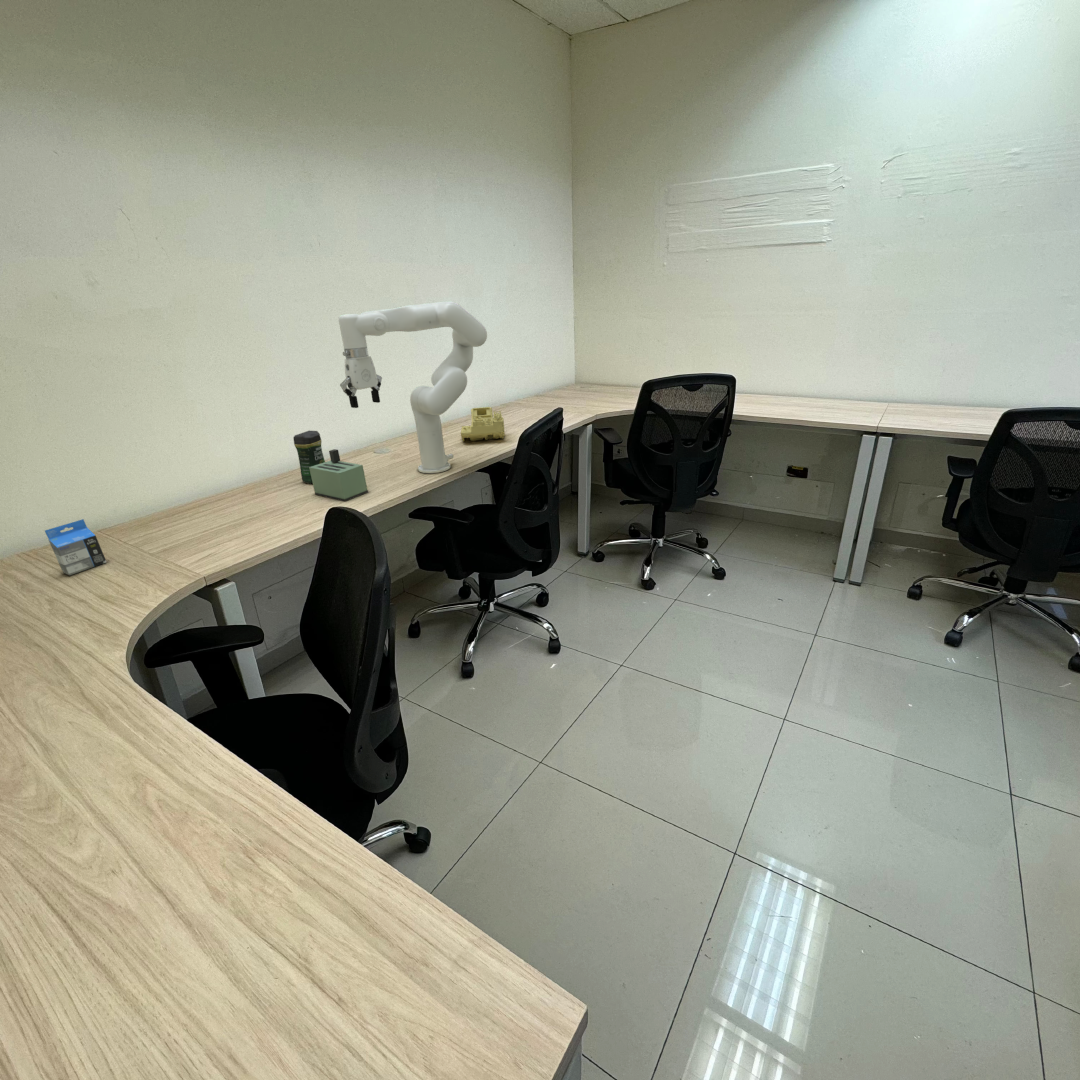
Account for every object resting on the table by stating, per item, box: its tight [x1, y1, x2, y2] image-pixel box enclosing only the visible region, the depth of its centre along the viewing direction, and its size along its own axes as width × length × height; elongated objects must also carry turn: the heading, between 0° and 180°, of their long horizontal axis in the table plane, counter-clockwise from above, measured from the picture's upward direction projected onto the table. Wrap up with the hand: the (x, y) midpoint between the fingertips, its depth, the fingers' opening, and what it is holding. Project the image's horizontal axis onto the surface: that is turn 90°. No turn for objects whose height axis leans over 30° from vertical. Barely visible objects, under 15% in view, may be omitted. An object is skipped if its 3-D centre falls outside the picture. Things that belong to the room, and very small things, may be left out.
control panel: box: [460, 406, 506, 442], centre depth 255 cm, size 24×16×20 cm
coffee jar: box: [293, 430, 326, 484], centre depth 206 cm, size 10×8×19 cm
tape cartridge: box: [44, 518, 107, 576], centre depth 146 cm, size 9×4×12 cm, turn 148°
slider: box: [328, 448, 341, 462], centre depth 193 cm, size 2×2×4 cm
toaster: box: [309, 459, 369, 502], centre depth 192 cm, size 10×16×10 cm, turn 57°
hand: (365, 404), depth 192 cm, fingers open, 9 cm apart
